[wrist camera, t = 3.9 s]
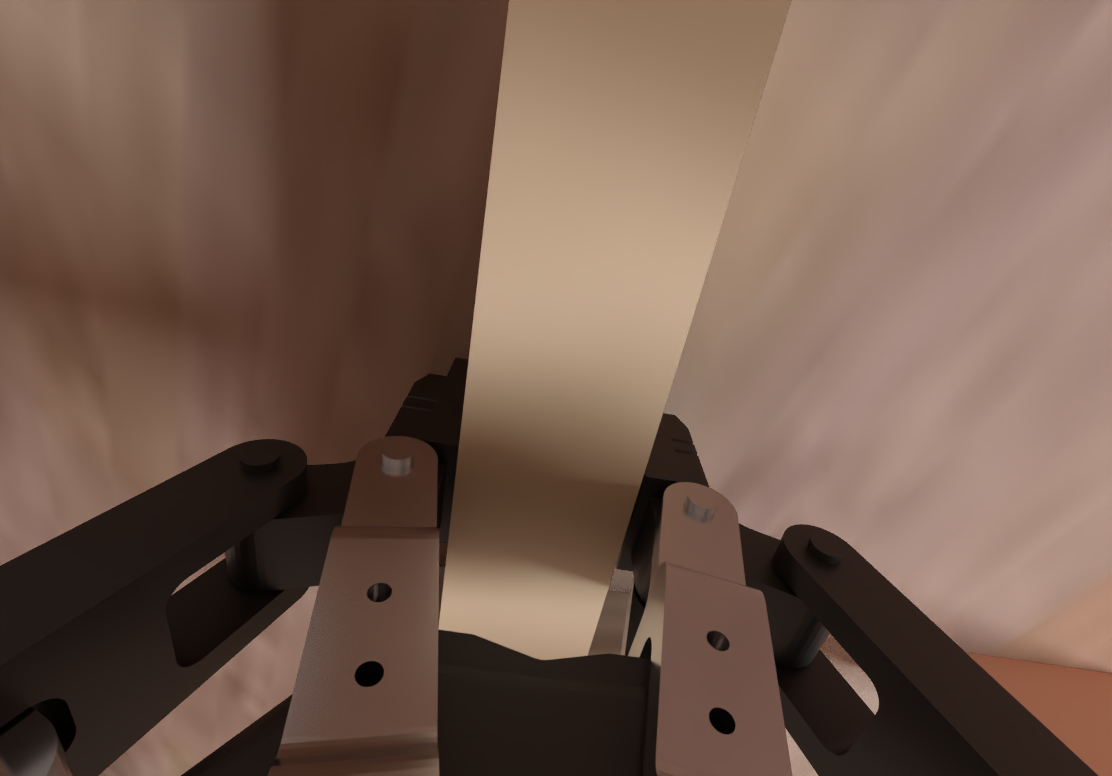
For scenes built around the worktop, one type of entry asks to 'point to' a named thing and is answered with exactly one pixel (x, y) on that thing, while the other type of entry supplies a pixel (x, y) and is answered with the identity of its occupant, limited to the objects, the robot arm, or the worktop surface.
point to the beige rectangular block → (589, 296)
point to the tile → (1062, 703)
